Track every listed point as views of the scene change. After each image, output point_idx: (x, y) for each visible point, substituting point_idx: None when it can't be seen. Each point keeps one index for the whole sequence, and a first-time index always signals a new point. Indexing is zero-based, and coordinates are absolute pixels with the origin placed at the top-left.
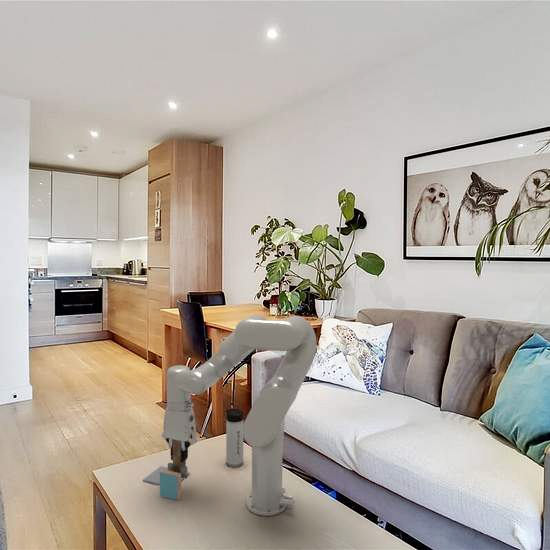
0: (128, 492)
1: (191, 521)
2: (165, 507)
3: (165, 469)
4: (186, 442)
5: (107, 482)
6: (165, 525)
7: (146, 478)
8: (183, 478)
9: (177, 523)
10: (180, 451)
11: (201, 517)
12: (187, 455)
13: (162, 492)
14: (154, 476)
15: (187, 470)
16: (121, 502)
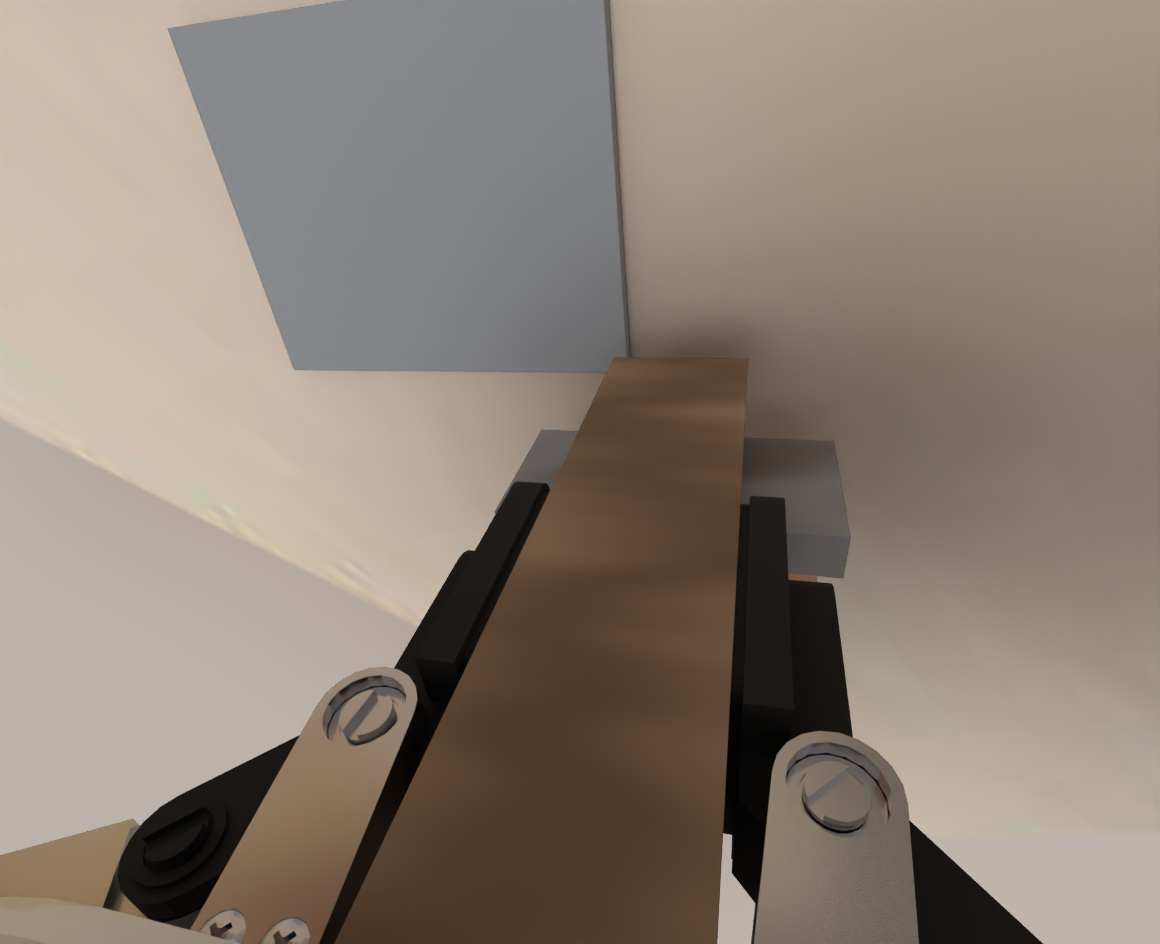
0: (361, 519)
1: (1061, 677)
2: None
3: (280, 79)
4: (810, 940)
5: (138, 466)
6: (868, 728)
7: (299, 342)
8: (615, 143)
9: (948, 706)
10: (726, 825)
11: (1146, 629)
12: (835, 621)
13: None
14: (322, 277)
15: (842, 496)
16: (427, 611)
